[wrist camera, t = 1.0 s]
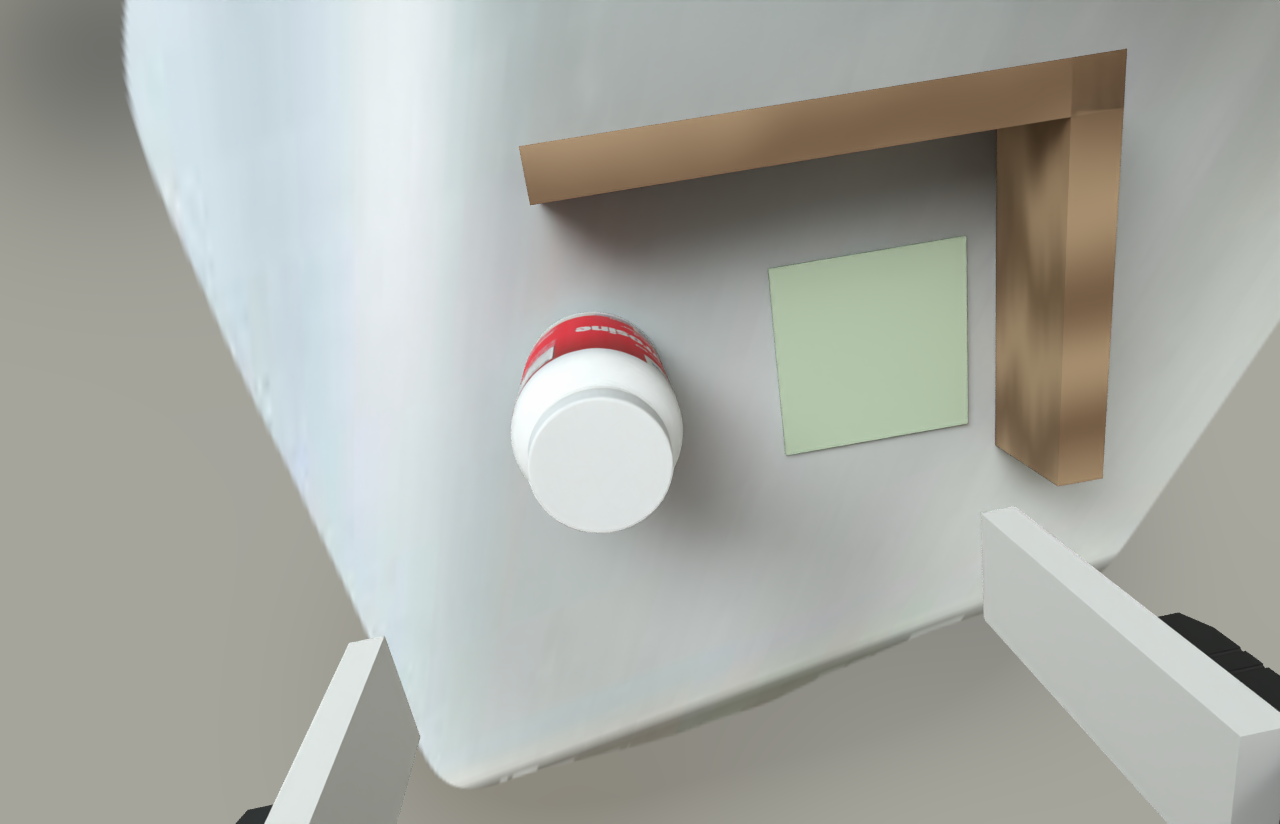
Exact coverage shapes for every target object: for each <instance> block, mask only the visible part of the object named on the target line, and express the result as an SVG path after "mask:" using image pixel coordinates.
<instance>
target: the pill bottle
mask: <svg viewBox="0 0 1280 824" xmlns="http://www.w3.org/2000/svg"><path fill="white" fill-rule="evenodd" d="M682 441H683V422H682V416H681V411H680V408H679V404H678V401H677V399H676V396H675V394H674V392H673V389H672V387H671V384H670V382H669V380H668V377H667V375H666V372H665V370H664V368H663V366H662V363H661V361H660V359H659V357H658V354H657V352H656V350H655V348H654V347H653V345H652V343H651V342H650V340H649V339H648V338H647V337H646V335H645V334H644V333H643V332H642V331H640V330H639V329H638V328H637V327H636V326H634V325H633V324H631V323H630V322H628V321H627V320H625V319H623V318H621V317H618V316H615V315H612V314H609V313H603V312H583V313H578V314H574V315H571V316H568V317H565V318H563V319H561V320H559V321H558V322H556V323H555V324H553V325H552V326H550V327H549V328H548V329H547V330H546V331H545V332H544V333H543V334H542V335H541V336H540V337H539V339H538V340H537V341H536V343H535V345H534V346H533V348H532V350H531V352H530V354H529V357H528V359H527V362H526V366H525V369H524V373H523V377H522V381H521V385H520V388H519V392H518V396H517V400H516V403H515V407H514V411H513V415H512V422H511V442H512V448H513V452H514V455H515V458H516V461H517V463H518V466H519V468H520V470H521V471H522V473H523V475H524V476H525V478H526V479H527V480H528V482H529V483H530V486H531V489H532V491H533V493H534V495H535V497H536V499H537V501H538V502H539V503H540V505H541V506H542V507H543V509H544V510H545V511H546V512H547V513H548V514H549V515H550V516H552V517H553V518H554V519H556V520H557V521H559V522H560V523H562V524H564V525H566V526H568V527H571V528H573V529H576V530H579V531H584V532H592V533H608V532H615V531H619V530H623V529H626V528H628V527H631V526H633V525H635V524H637V523H639V522H641V521H642V520H644V519H645V518H647V517H648V516H649V515H650V514H651V513H652V512H653V511H654V510H656V508H657V507H658V506H659V505H660V503H661V502H662V501H663V499H664V497H665V495H666V494H667V492H668V489H669V487H670V484H671V481H672V477H673V469H674V467H675V465H676V463H677V461H678V458H679V455H680V451H681V447H682Z"/></svg>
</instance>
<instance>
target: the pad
mask: <svg viewBox="0 0 1280 824" xmlns="http://www.w3.org/2000/svg"><path fill="white" fill-rule="evenodd" d="M768 276H769V287H770V297H771V308H772V318H773V329H774V339H775V349H776V360H777V370H778V381H779V391H780V402H781V412H782V423H783V433H784V444H785V454H786V455H791V454H797V453H803V452H808V451H814V450H820V449H826V448H831V447H837V446H843V445H848V444H854V443H860V442H865V441H871V440H877V439H882V438H888V437H894V436H899V435H905V434H911V433H916V432H922V431H928V430H933V429H939V428H945V427H950V426H956V425H962V424H967V423H968V383H967V260H966V236H960V237H954V238H948V239H942V240H936V241H930V242H924V243H918V244H912V245H906V246H900V247H894V248H888V249H882V250H876V251H870V252H865V253H859V254H853V255H847V256H841V257H835V258H829V259H823V260H817V261H811V262H805V263H799V264H793V265H787V266H781V267H775V268H769V269H768Z"/></svg>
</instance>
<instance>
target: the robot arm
mask: <svg viewBox="0 0 1280 824" xmlns="http://www.w3.org/2000/svg"><path fill="white" fill-rule="evenodd" d="M981 543H982V575H983V606H984V620H985V621H986V622H987V623H988V624H989V625H990V626H991V627H992V629H993V630H994V631H995V632H996V633H997V634H998V635H999V636H1000V637H1001V638H1002V640H1003V641H1004V642H1005V643H1006V644H1007V645H1008V646H1009V647H1010V648H1011V650H1012V651H1013V652H1014V653H1015V654H1016V655H1017V656H1018V657H1019V658H1020V660H1021V661H1022V662H1023V663H1024V664H1025V665H1026V666H1027V667H1028V669H1029V670H1030V671H1031V672H1032V673H1033V674H1034V675H1035V676H1036V677H1037V679H1038V680H1039V681H1040V682H1041V683H1042V684H1043V685H1044V686H1045V687H1046V689H1047V690H1048V691H1049V692H1050V693H1051V694H1052V695H1053V696H1054V697H1055V698H1056V700H1057V701H1058V702H1059V703H1060V704H1061V705H1062V706H1063V707H1064V709H1065V710H1066V711H1067V712H1068V713H1069V714H1070V715H1071V716H1072V717H1073V719H1074V720H1075V721H1076V722H1077V723H1078V724H1079V725H1080V726H1081V727H1082V729H1083V730H1084V731H1085V732H1086V733H1087V734H1088V735H1089V736H1090V737H1091V739H1092V740H1093V741H1094V742H1095V743H1096V744H1097V745H1098V746H1099V748H1100V749H1101V750H1102V751H1103V752H1104V753H1105V754H1106V755H1107V756H1108V757H1109V759H1110V760H1111V761H1112V762H1113V763H1114V764H1115V765H1116V766H1117V768H1118V769H1119V770H1120V771H1121V772H1122V773H1123V774H1124V775H1125V776H1126V778H1128V780H1129V781H1130V782H1131V783H1132V784H1133V785H1134V786H1135V788H1136V789H1137V790H1138V791H1139V792H1140V793H1141V794H1142V795H1143V796H1144V798H1145V799H1146V800H1147V801H1148V802H1149V803H1150V804H1151V805H1152V806H1153V808H1155V810H1156V811H1157V812H1158V813H1159V814H1160V815H1161V816H1162V818H1163V819H1164V820H1165V821H1166V822H1167V823H1168V824H1280V676H1279V675H1278V674H1277V673H1275V672H1274V671H1273V670H1271V669H1270V668H1265V667H1264V666H1263V663H1261V662H1260V661H1259V660H1257V659H1256V658H1255V657H1253V656H1252V655H1251V654H1249V653H1247V652H1246V651H1244V652H1243V651H1242V650H1241V649H1240V647H1239V646H1238V645H1237V644H1235V643H1234V642H1233V641H1231V640H1230V639H1229V638H1227V637H1226V636H1224V635H1223V634H1222V633H1220V632H1219V631H1218V630H1216V629H1215V628H1213V627H1211V626H1209V625H1206V624H1204V623H1202V622H1199V621H1197V620H1195V619H1192V618H1190V617H1188V616H1185V615H1183V614H1181V613H1174V614H1170V615H1165V616H1160V617H1156V616H1155V615H1154V614H1153V613H1151V612H1150V611H1149V610H1148V609H1146V608H1145V607H1144V606H1143V605H1141V604H1140V603H1139V602H1137V601H1136V600H1135V599H1134V598H1132V597H1131V596H1130V595H1128V594H1127V593H1126V592H1125V591H1123V590H1122V589H1121V588H1119V587H1118V586H1117V585H1115V584H1114V583H1113V582H1112V581H1110V580H1109V579H1108V578H1107V577H1105V576H1104V575H1103V574H1101V573H1100V572H1099V571H1098V570H1096V569H1095V568H1094V567H1092V566H1091V565H1090V564H1089V563H1087V562H1086V561H1085V560H1083V559H1082V558H1081V557H1080V556H1078V555H1077V554H1076V553H1074V552H1073V551H1072V550H1071V549H1069V548H1068V547H1067V546H1065V545H1064V544H1063V543H1062V542H1060V541H1059V540H1058V539H1056V538H1055V537H1054V536H1053V535H1051V534H1050V533H1049V532H1047V531H1046V530H1045V529H1044V528H1042V527H1041V526H1040V525H1038V524H1037V523H1036V522H1035V521H1033V520H1032V519H1031V518H1029V517H1028V516H1027V515H1026V514H1024V513H1023V512H1022V511H1020V510H1019V509H1018V508H1017V507H1015V506H1012V507H1007V508H1003V509H998V510H993V511H988V512H983V513H981ZM419 740H420V735H419V732H418V729H417V726H416V723H415V720H414V718H413V715H412V712H411V709H410V706H409V703H408V701H407V698H406V695H405V692H404V689H403V687H402V684H401V681H400V678H399V675H398V672H397V670H396V667H395V664H394V661H393V658H392V655H391V653H390V650H389V647H388V644H387V641H386V638H385V636H381V637H376V638H371V639H366V640H362V641H357V642H352V643H349V644H348V647H347V649H346V651H345V653H344V655H343V657H342V659H341V661H340V664H339V666H338V668H337V670H336V672H335V674H334V676H333V679H332V681H331V683H330V685H329V687H328V689H327V691H326V693H325V696H324V698H323V700H322V702H321V704H320V706H319V708H318V711H317V713H316V715H315V717H314V719H313V721H312V723H311V725H310V728H309V730H308V732H307V734H306V736H305V738H304V740H303V743H302V745H301V747H300V749H299V751H298V753H297V755H296V758H295V760H294V762H293V764H292V766H291V768H290V770H289V772H288V775H287V777H286V779H285V781H284V783H283V785H282V787H281V789H280V792H279V794H278V796H277V798H276V800H275V803H274V804H273V805H269V806H265V807H260V808H255V809H250V810H247V811H246V813H245V814H244V815H243V816H242V817H241V818H240V819H239V821H238V822H237V823H236V824H397V822H398V817H399V814H400V810H401V807H402V803H403V799H404V796H405V792H406V788H407V784H408V781H409V777H410V773H411V770H412V765H413V762H414V758H415V754H416V750H417V747H418V743H419Z"/></svg>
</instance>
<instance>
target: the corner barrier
mask: <svg viewBox="0 0 1280 824" xmlns="http://www.w3.org/2000/svg"><path fill="white" fill-rule="evenodd" d="M1126 59H1127V49H1122V50H1116V51H1110V52H1104V53H1097V54H1091V55H1085V56H1079V57H1072V58H1066V59H1060V60H1054V61H1048V62H1041V63H1035V64H1029V65H1023V66H1016V67H1010V68H1004V69H998V70H991V71H985V72H979V73H973V74H967V75H960V76H954V77H948V78H942V79H935V80H929V81H923V82H917V83H911V84H904V85H898V86H892V87H886V88H879V89H873V90H867V91H861V92H855V93H848V94H842V95H836V96H830V97H823V98H817V99H811V100H805V101H799V102H792V103H786V104H780V105H774V106H767V107H761V108H755V109H749V110H742V111H736V112H730V113H724V114H718V115H711V116H705V117H699V118H693V119H686V120H680V121H674V122H668V123H662V124H655V125H649V126H643V127H637V128H630V129H624V130H618V131H612V132H606V133H599V134H593V135H587V136H581V137H574V138H568V139H562V140H556V141H550V142H543V143H537V144H531V145H525V146H519V150H520V155H521V160H522V165H523V171H524V176H525V181H526V186H527V191H528V196H529V201H530V205H535V204H541V203H547V202H553V201H559V200H565V199H571V198H577V197H584V196H590V195H596V194H602V193H608V192H614V191H620V190H626V189H633V188H639V187H645V186H651V185H657V184H663V183H669V182H675V181H682V180H688V179H694V178H700V177H706V176H712V175H718V174H724V173H731V172H737V171H743V170H749V169H755V168H761V167H767V166H773V165H780V164H786V163H792V162H798V161H804V160H810V159H816V158H822V157H829V156H835V155H841V154H847V153H853V152H859V151H865V150H871V149H878V148H884V147H890V146H896V145H902V144H908V143H914V142H920V141H927V140H933V139H939V138H945V137H951V136H957V135H963V134H969V133H976V132H982V131H988V130H994V129H997V222H996V423H995V445H996V446H998V447H999V448H1001V449H1002V450H1004V451H1005V452H1007V453H1008V454H1010V455H1011V456H1013V457H1014V458H1016V459H1017V460H1019V461H1020V462H1022V463H1023V464H1025V465H1026V466H1028V467H1029V468H1031V469H1032V470H1034V471H1035V472H1037V473H1038V474H1040V475H1041V476H1043V477H1045V478H1046V479H1048V480H1049V481H1051V482H1052V483H1054V484H1055V485H1057V486H1062V485H1068V484H1074V483H1079V482H1085V481H1090V480H1096V479H1101V478H1103V462H1104V445H1105V427H1106V410H1107V392H1108V375H1109V357H1110V339H1111V322H1112V304H1113V287H1114V269H1115V252H1116V234H1117V217H1118V199H1119V181H1120V164H1121V146H1122V129H1123V111H1124V94H1125V76H1126Z"/></svg>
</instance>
